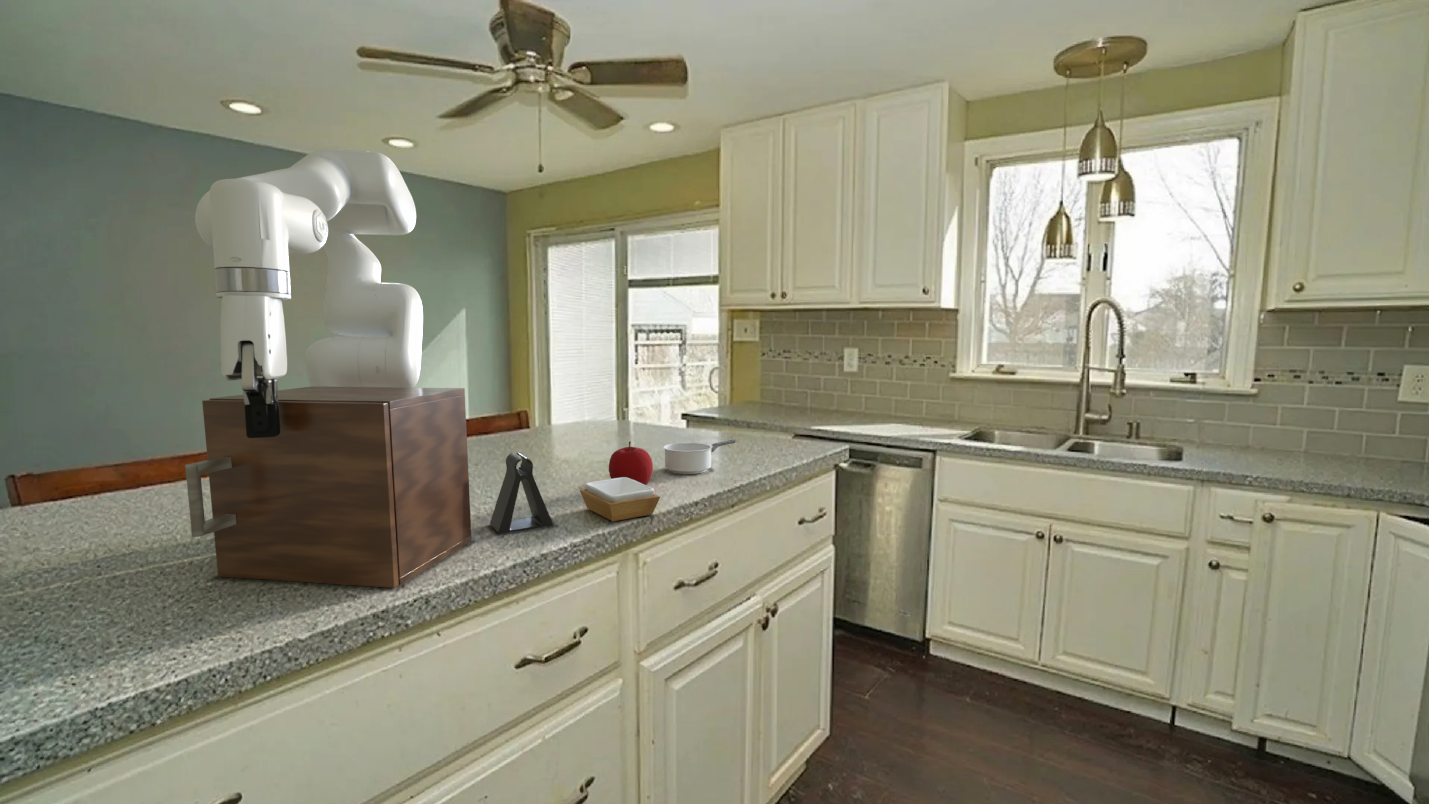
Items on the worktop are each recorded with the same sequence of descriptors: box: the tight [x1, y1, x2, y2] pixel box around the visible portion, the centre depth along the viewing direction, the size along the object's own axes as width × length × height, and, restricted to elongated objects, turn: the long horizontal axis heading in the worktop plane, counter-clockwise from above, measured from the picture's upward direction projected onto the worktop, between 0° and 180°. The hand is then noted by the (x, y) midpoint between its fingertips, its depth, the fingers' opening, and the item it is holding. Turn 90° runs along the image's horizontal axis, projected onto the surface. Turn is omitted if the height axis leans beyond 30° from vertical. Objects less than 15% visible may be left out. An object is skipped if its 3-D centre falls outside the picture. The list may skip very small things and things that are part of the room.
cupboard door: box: [184, 399, 400, 589], centre depth 84 cm, size 6×26×24 cm, turn 81°
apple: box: [608, 441, 654, 486], centre depth 138 cm, size 9×9×10 cm
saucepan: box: [662, 439, 736, 475], centre depth 158 cm, size 12×20×6 cm, turn 130°
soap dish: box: [579, 477, 661, 523], centre depth 120 cm, size 12×10×5 cm
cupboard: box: [208, 386, 472, 586], centre depth 96 cm, size 18×26×24 cm
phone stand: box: [489, 452, 554, 535], centre depth 112 cm, size 9×6×12 cm, turn 120°
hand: (263, 436), depth 83 cm, fingers closed
